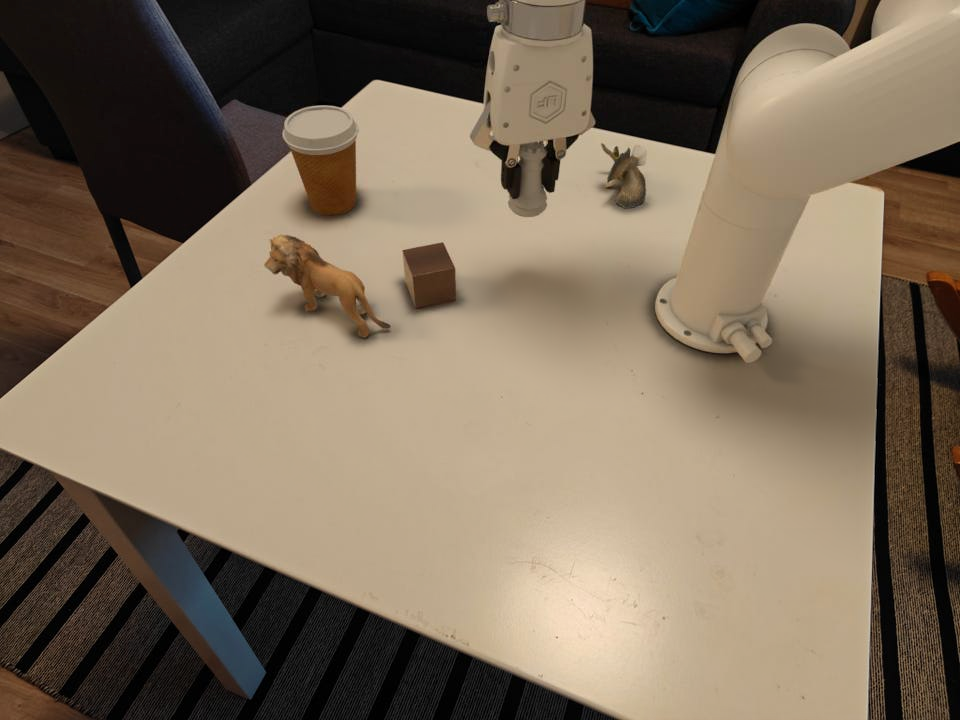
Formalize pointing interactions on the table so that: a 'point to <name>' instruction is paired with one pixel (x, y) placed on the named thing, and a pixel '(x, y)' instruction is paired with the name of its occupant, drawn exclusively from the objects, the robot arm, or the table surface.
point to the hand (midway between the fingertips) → (528, 187)
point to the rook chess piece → (530, 181)
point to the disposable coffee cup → (324, 156)
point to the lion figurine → (320, 278)
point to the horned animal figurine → (628, 175)
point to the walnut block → (429, 275)
